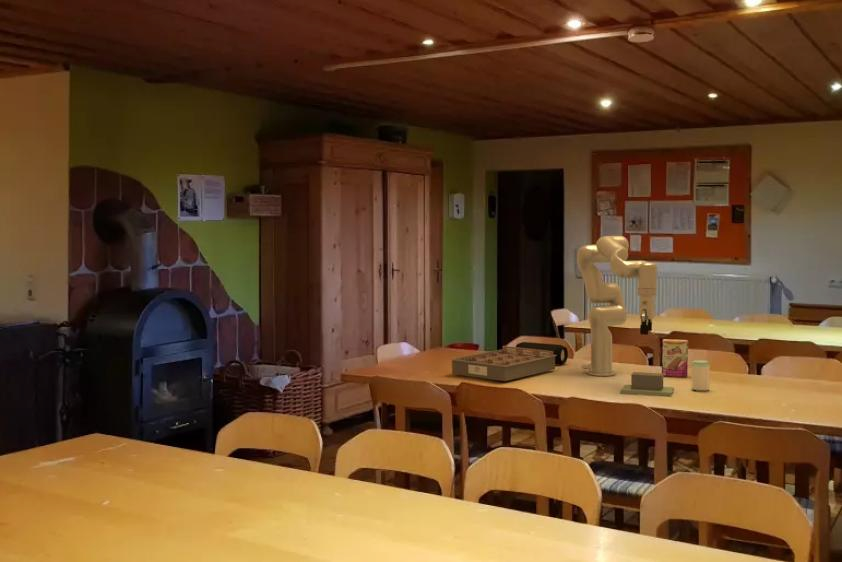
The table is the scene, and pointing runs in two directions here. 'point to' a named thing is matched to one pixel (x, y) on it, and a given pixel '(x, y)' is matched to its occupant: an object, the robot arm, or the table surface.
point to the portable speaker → (557, 350)
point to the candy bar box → (675, 358)
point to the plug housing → (647, 381)
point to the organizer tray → (505, 363)
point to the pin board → (647, 391)
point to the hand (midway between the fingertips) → (646, 332)
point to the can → (700, 375)
